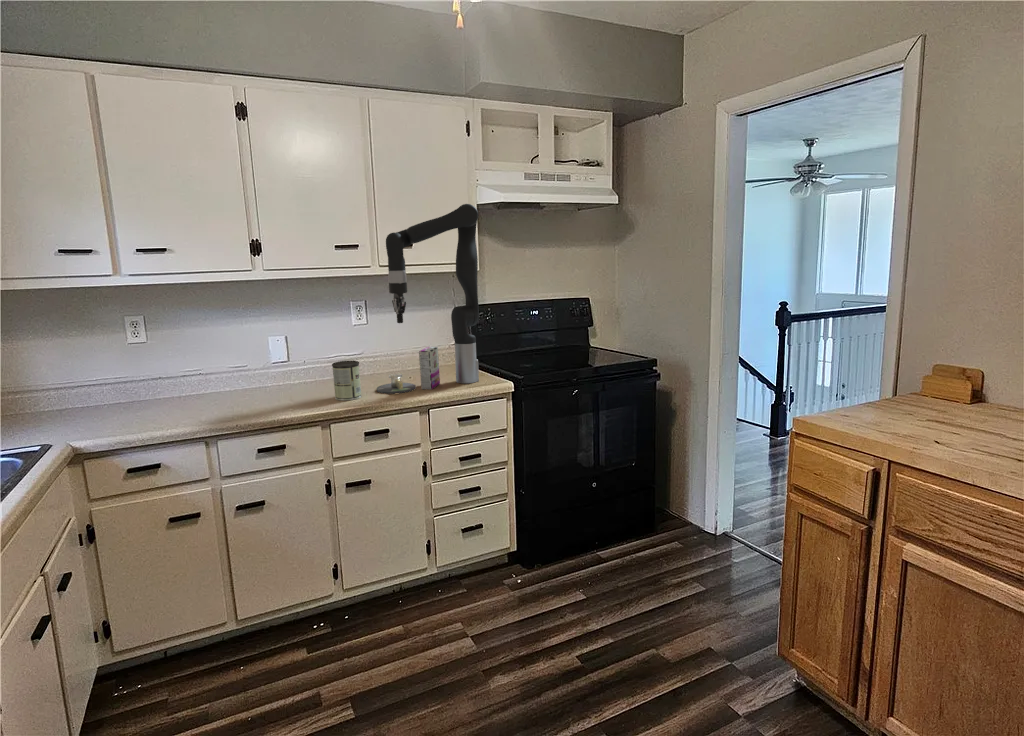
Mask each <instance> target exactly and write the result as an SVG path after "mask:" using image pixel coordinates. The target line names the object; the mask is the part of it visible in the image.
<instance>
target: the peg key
mask: <svg viewBox="0 0 1024 736" xmlns="http://www.w3.org/2000/svg"><path fill="white" fill-rule="evenodd" d="M388 378H389V379H390V383H391V387H393V388H398V389H403V383H404V382H402V381H401V380H402V378H403V374H402V373H391V374H388Z"/></svg>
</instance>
